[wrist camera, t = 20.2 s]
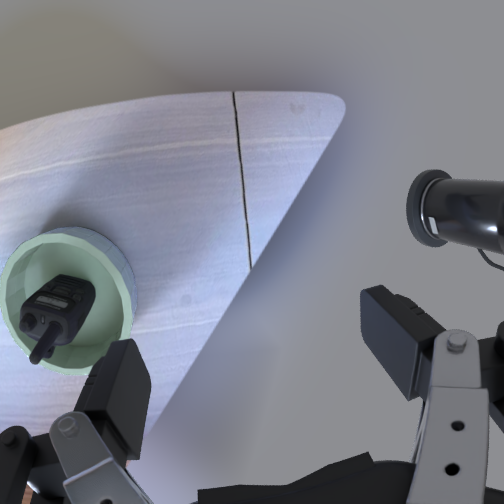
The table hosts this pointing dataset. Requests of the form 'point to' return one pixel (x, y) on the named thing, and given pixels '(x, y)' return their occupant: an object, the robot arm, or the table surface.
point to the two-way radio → (56, 313)
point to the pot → (81, 266)
